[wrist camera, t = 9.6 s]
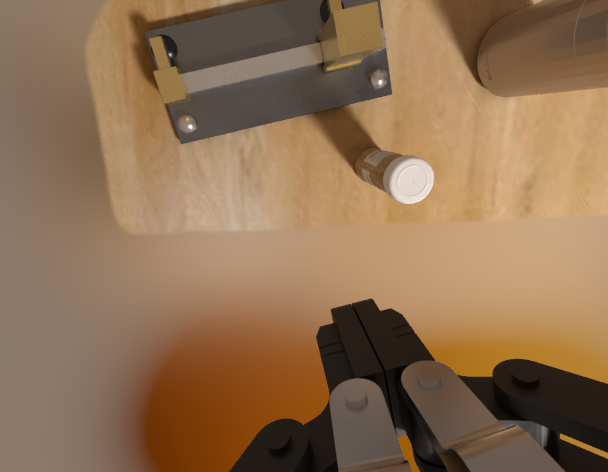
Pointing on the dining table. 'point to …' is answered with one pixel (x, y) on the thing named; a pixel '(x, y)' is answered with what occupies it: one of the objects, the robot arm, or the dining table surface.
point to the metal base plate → (273, 89)
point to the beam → (229, 70)
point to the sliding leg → (349, 35)
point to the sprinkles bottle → (396, 174)
